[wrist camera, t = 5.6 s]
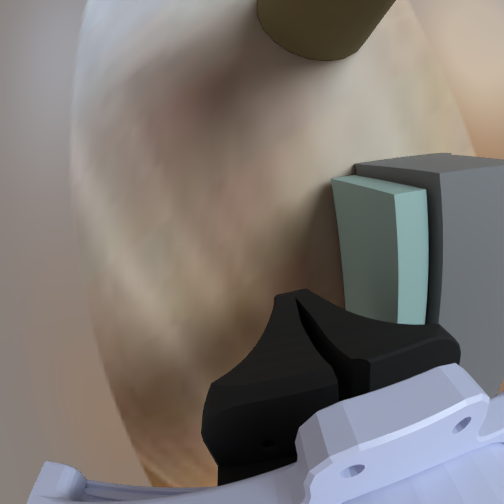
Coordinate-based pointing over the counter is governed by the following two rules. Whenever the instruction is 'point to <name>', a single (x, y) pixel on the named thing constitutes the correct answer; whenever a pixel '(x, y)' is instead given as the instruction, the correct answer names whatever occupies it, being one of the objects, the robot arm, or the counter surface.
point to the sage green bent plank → (383, 248)
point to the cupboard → (461, 252)
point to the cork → (321, 25)
